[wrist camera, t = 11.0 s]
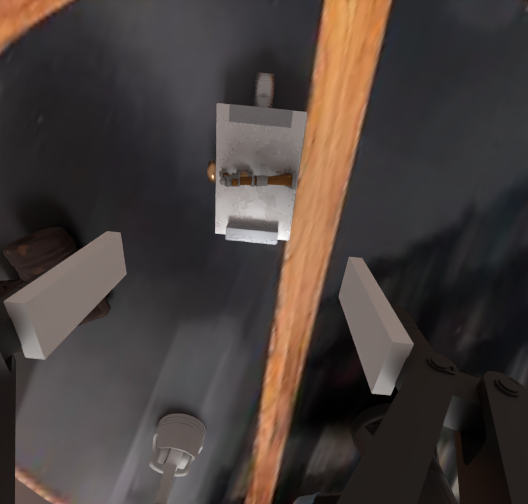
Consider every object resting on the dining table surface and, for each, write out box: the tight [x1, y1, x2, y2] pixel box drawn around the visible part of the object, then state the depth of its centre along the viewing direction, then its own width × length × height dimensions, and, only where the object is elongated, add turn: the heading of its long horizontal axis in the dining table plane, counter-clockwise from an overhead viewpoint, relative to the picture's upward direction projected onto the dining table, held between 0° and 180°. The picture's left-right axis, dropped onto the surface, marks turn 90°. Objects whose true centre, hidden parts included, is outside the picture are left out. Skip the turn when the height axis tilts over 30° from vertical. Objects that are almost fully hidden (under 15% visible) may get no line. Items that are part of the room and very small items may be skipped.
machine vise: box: [208, 73, 307, 245], centre depth 31 cm, size 10×17×6 cm, turn 175°
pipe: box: [0, 227, 111, 353], centre depth 39 cm, size 10×15×15 cm
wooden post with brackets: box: [219, 170, 298, 190], centre depth 29 cm, size 2×8×4 cm, turn 86°
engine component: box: [150, 414, 206, 504], centre depth 50 cm, size 11×20×10 cm
